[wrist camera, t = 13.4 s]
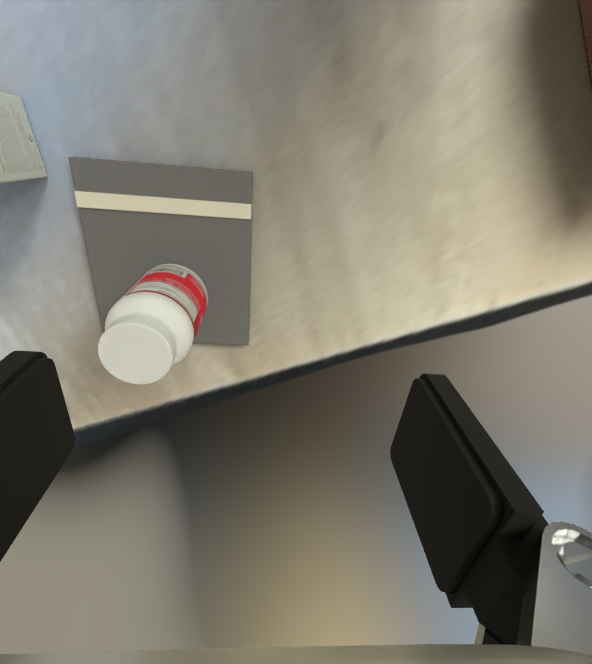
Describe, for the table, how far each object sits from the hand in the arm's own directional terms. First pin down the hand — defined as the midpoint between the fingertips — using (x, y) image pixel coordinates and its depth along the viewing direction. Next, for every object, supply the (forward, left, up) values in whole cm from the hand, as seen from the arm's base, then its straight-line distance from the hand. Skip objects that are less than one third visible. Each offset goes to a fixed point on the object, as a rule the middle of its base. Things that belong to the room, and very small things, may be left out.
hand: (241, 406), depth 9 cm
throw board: (+3, -8, -25) cm, 26 cm away
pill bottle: (+6, -8, -24) cm, 26 cm away
